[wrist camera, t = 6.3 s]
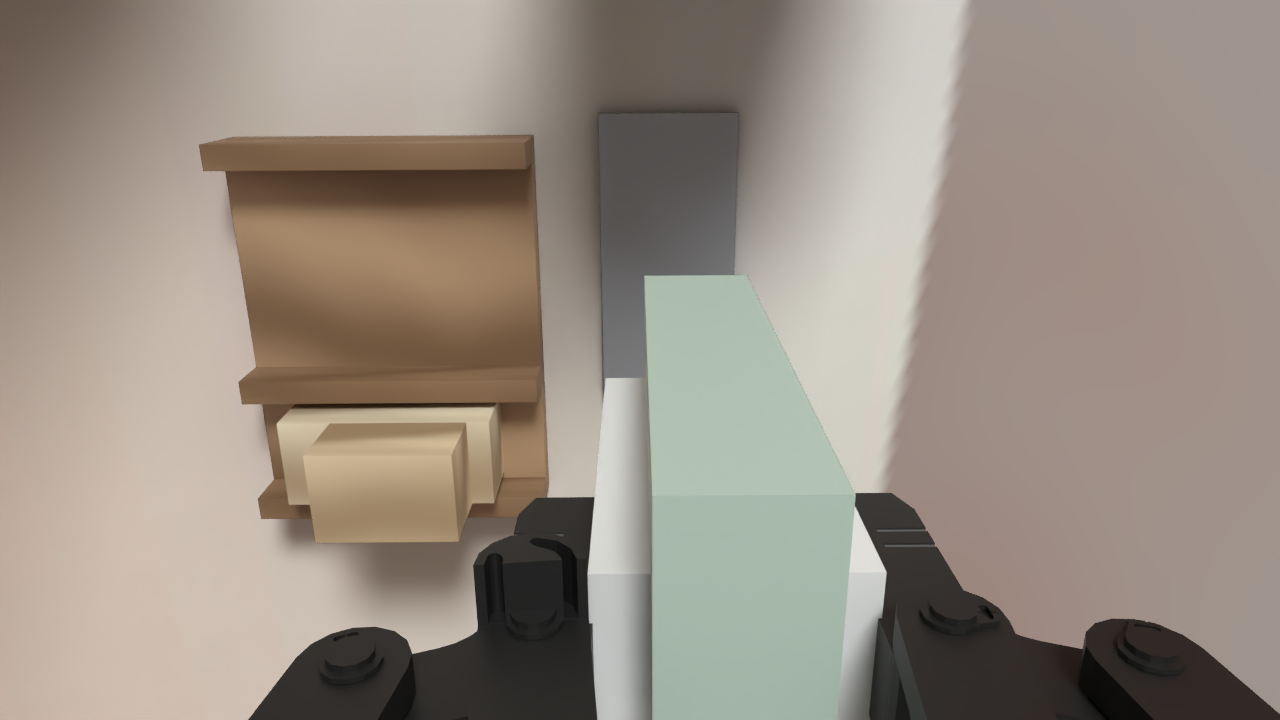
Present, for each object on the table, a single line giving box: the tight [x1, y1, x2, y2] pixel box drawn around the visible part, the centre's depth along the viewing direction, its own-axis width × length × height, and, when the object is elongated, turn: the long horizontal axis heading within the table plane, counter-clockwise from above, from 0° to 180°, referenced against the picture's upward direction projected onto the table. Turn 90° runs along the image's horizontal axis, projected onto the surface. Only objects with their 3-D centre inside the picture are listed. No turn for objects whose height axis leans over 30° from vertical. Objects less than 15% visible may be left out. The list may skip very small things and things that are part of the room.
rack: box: [199, 135, 549, 519], centre depth 31 cm, size 13×10×2 cm
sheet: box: [644, 275, 856, 720], centre depth 14 cm, size 6×2×9 cm, turn 0°
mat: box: [598, 112, 739, 390], centre depth 31 cm, size 10×5×1 cm, turn 0°
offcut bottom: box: [277, 402, 504, 505], centre depth 31 cm, size 3×7×2 cm, turn 90°
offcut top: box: [303, 423, 472, 543], centre depth 29 cm, size 3×4×2 cm, turn 90°
